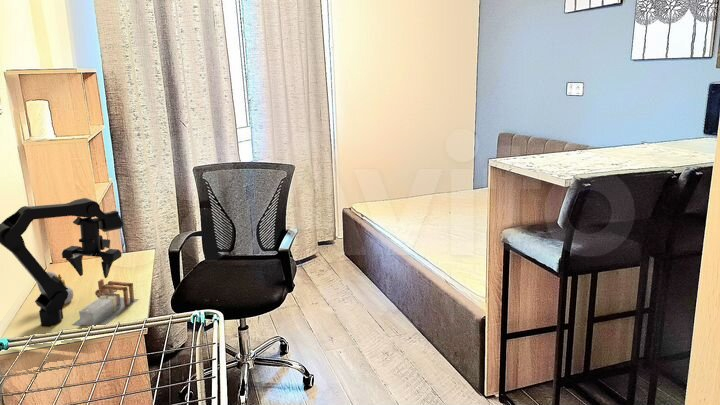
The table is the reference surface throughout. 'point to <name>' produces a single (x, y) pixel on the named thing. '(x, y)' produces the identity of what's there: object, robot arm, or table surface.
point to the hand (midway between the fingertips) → (93, 276)
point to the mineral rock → (107, 291)
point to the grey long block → (99, 309)
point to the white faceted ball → (69, 290)
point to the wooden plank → (100, 287)
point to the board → (112, 313)
